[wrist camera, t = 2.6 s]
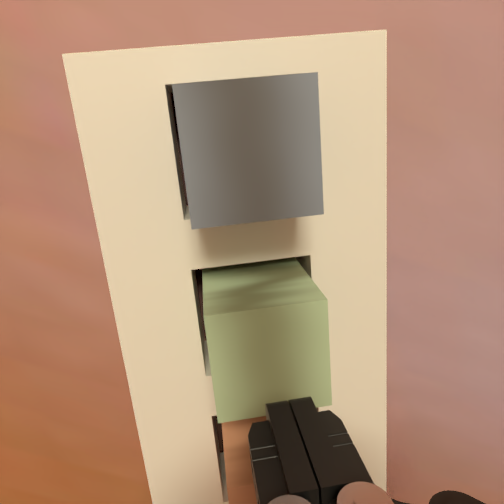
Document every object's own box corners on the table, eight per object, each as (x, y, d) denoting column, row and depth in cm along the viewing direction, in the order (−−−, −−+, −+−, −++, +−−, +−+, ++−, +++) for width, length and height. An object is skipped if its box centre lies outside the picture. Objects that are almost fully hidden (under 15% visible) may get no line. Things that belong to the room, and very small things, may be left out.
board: (354, 47, 22) (386, 29, 19) (362, 446, 30) (386, 492, 26) (86, 68, 21) (61, 53, 17) (164, 480, 28) (158, 534, 25)
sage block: (294, 257, 23) (327, 299, 17) (300, 340, 24) (331, 405, 18) (202, 268, 22) (203, 316, 16) (213, 352, 23) (217, 423, 18)
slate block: (283, 89, 20) (317, 72, 14) (290, 192, 22) (323, 214, 16) (179, 98, 20) (171, 84, 14) (193, 203, 21) (191, 229, 15)
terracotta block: (303, 392, 25) (334, 469, 19) (307, 460, 26) (338, 551, 21) (220, 405, 24) (226, 488, 19) (229, 474, 26) (237, 571, 20)
